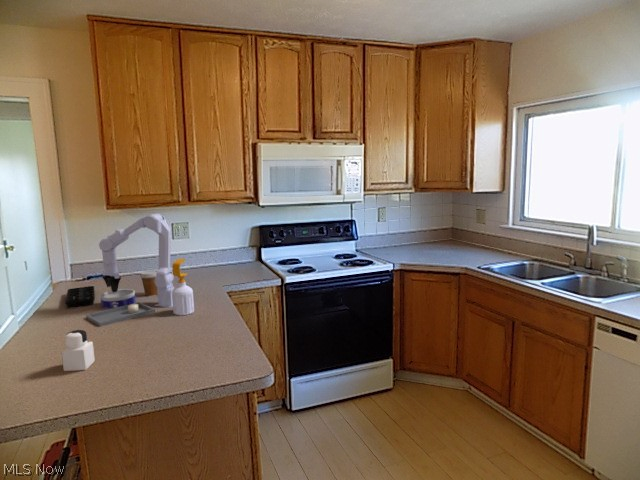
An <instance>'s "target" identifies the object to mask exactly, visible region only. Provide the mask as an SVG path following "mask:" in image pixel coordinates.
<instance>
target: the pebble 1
mask: <svg viewBox="0 0 640 480" xmlns="http://www.w3.org/2000/svg"><path fill="white" fill-rule="evenodd" d="M106 287H107V286H106ZM106 290H107V292H108V294H116V293H118V291H117V292H112V289H111V286H108V287H107V289H106Z"/></svg>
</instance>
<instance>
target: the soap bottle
mask: <svg viewBox="0 0 640 480" xmlns="http://www.w3.org/2000/svg"><path fill="white" fill-rule="evenodd" d="M184 262H186V259H184V258H178V259H176V260H175V261H174V262H172V265H171V268H172V273H173V275H174V277H177V278H178V281H177V286H176V287H174V288H175V289H174V290H173V291H172V301H173V306H172V312H173V314H174V315H177V316H188V315H190V314H193V313H194V312H195V302H194V290H193V288H192V287H190V286H189V285H187V283H186V280H185V279H184V278H185V277H186V276H188V273H183V272H181V265H182V264H183V263H184Z"/></svg>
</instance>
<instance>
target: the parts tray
mask: <svg viewBox="0 0 640 480" xmlns="http://www.w3.org/2000/svg"><path fill="white" fill-rule="evenodd" d="M134 304H138V308H139V312H137V313H133V314H130V313H128V305H126V306H121V307H117V308H113V309H109V308H108V309H106V310H100V311H96V312H93V313H88V314H86V315H85V316H86V317H85V318H86V319H87V320H89V321H90V322H91V323H93V324H95V325H96V326H98V327H104V326H107V325H112V324H115V323H119V322H124V321H127V320H130V319H135V318H138V317H142V316H147V315H150V314H154V313H156V308H154V307H151V306H149V305H147V304H145V303H142V302H140V301H139V302H135V303H134Z"/></svg>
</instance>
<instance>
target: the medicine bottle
mask: <svg viewBox="0 0 640 480" xmlns="http://www.w3.org/2000/svg"><path fill="white" fill-rule="evenodd" d="M64 336H65V343H66V346H65V348H63V349H62V350H61V361H62V367H63V371H64V372H71V371H72V372H73V371H77V372H78V371H86V370H87V369H88V368H89V367H90V366H91V365H92V364H93V363H94V362H95V359H96V358H95V349H94V343H93V341H88V335H87V331H85V330H83V329H75V330H72V331H69V332H67V333H66V334H65V335H64Z"/></svg>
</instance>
